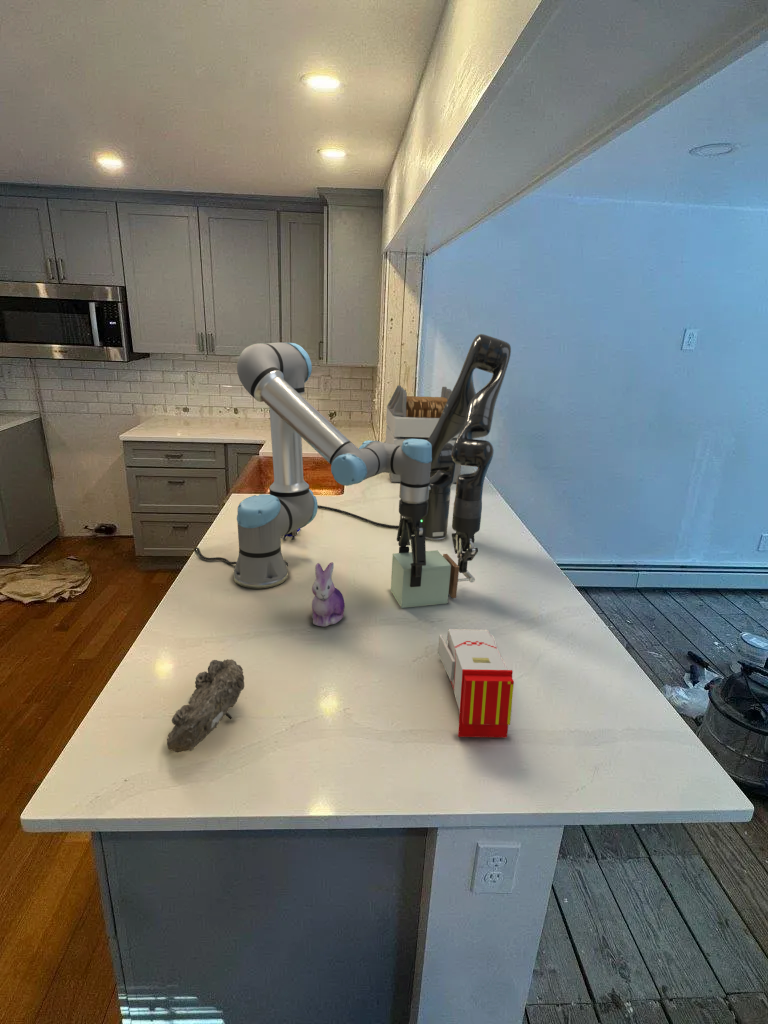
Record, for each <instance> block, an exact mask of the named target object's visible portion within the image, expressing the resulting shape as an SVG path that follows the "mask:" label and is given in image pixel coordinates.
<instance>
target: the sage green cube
mask: <svg viewBox="0 0 768 1024" xmlns="http://www.w3.org/2000/svg"><path fill="white" fill-rule="evenodd" d="M411 563H413V558H412V551H409V552H408V553H399V552H397V553H395V552H394V553H392V559H391V577H390V579H391V580H390V592H391V594H392V595H393V597H394V598H395V600H396V602H397V604H398V605H399V607H400V609H406V608H413V607H415V608H417V607H425V606H434V605H445V604H448V602H449V594H448V593H449V582H450V571H451V565H450V564H449V563H448V562H447V560H446V559H445V558H444V557H443V554H441V552H440V551H439V550H438V549H437V550H426V565H425V566H422V575H421V586H420V587H410V579H411Z"/></svg>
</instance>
